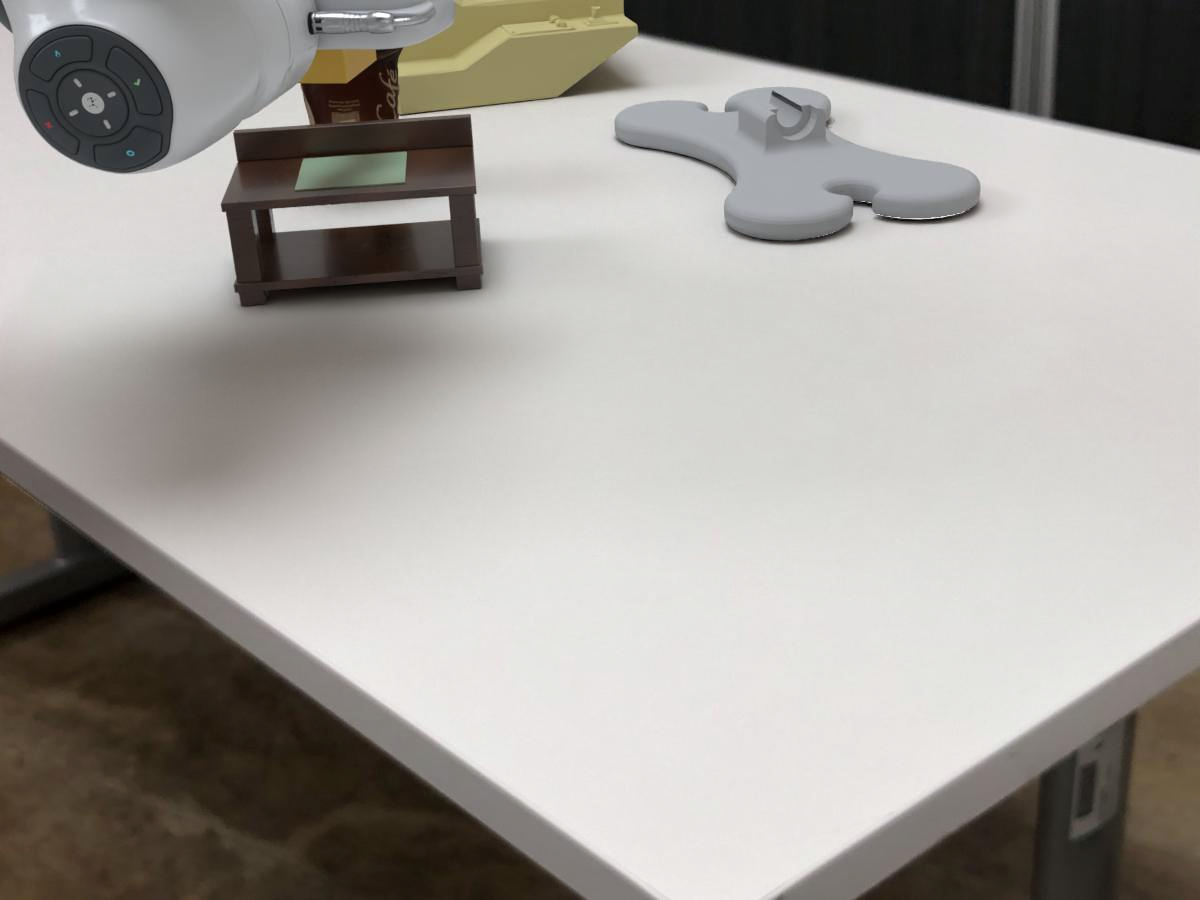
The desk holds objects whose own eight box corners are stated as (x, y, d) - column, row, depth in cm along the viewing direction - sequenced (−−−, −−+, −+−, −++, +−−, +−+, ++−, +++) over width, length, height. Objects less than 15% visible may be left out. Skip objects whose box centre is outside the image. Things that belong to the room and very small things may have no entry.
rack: (237, 307, 101) (215, 172, 97) (253, 255, 110) (234, 129, 106) (484, 289, 102) (473, 154, 98) (481, 239, 111) (470, 113, 107)
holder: (804, 102, 140) (804, 46, 138) (1003, 212, 111) (1008, 143, 109) (601, 129, 135) (598, 71, 133) (753, 250, 106) (753, 179, 104)
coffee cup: (286, 201, 121) (262, 30, 115) (339, 169, 128) (319, 7, 122) (386, 209, 118) (367, 35, 112) (435, 177, 125) (419, 11, 119)
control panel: (400, -43, 135) (358, -94, 151) (387, 132, 142) (348, 65, 159) (657, -25, 143) (591, -76, 159) (632, 139, 150) (572, 75, 167)
